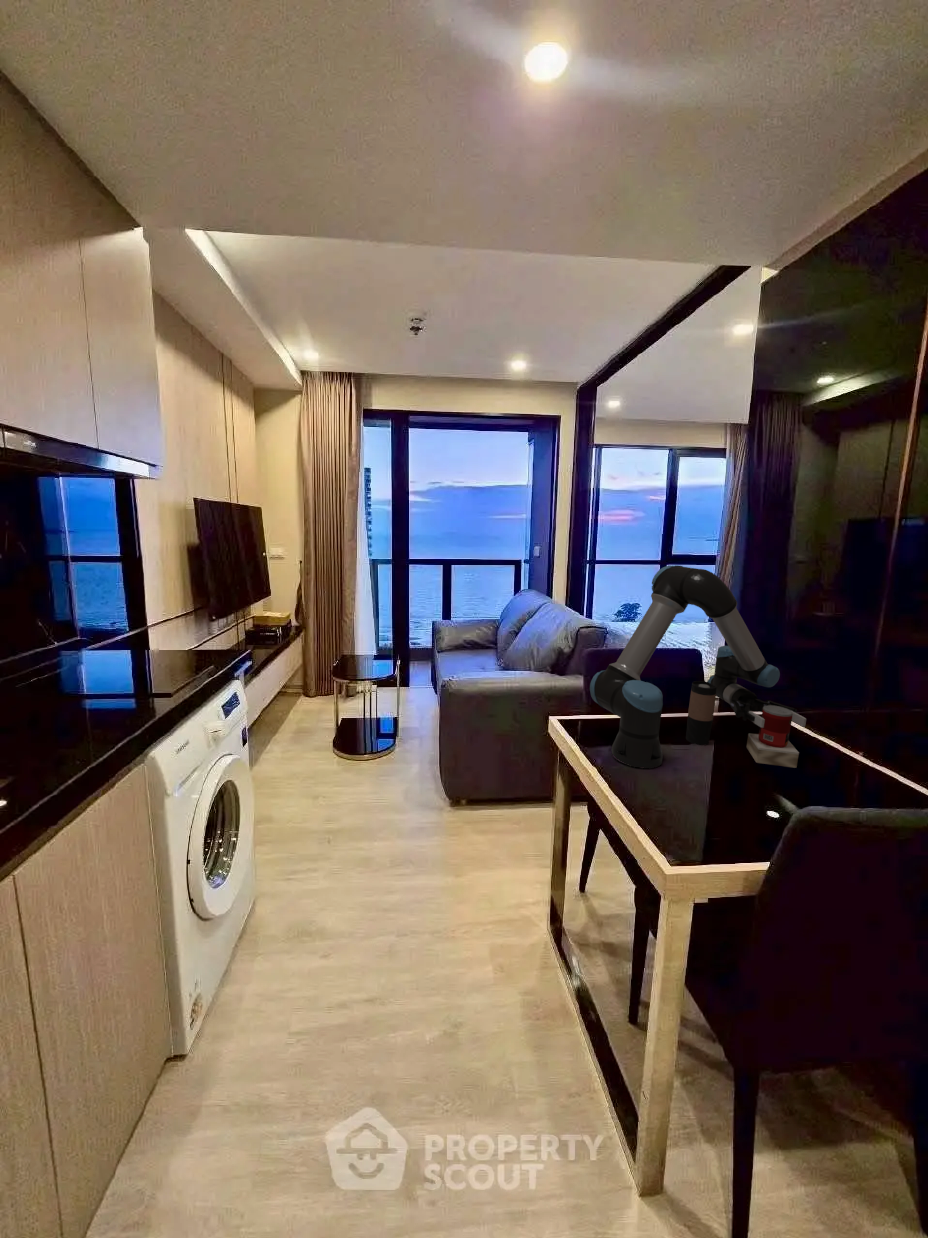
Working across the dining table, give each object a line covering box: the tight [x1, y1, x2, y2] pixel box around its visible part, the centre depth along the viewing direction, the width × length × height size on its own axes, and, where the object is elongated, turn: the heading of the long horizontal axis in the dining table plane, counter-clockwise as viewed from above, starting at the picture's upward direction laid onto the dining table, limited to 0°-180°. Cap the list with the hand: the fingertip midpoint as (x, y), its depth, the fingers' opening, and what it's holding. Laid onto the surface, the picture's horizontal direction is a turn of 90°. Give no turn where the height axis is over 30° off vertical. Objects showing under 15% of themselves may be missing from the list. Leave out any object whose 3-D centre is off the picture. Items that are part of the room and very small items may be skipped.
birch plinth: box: [746, 732, 800, 769], centre depth 159 cm, size 11×11×5 cm
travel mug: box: [685, 680, 717, 746], centre depth 168 cm, size 8×8×20 cm
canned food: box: [758, 705, 793, 748], centre depth 157 cm, size 8×8×11 cm
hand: (784, 723), depth 153 cm, fingers open, 13 cm apart
